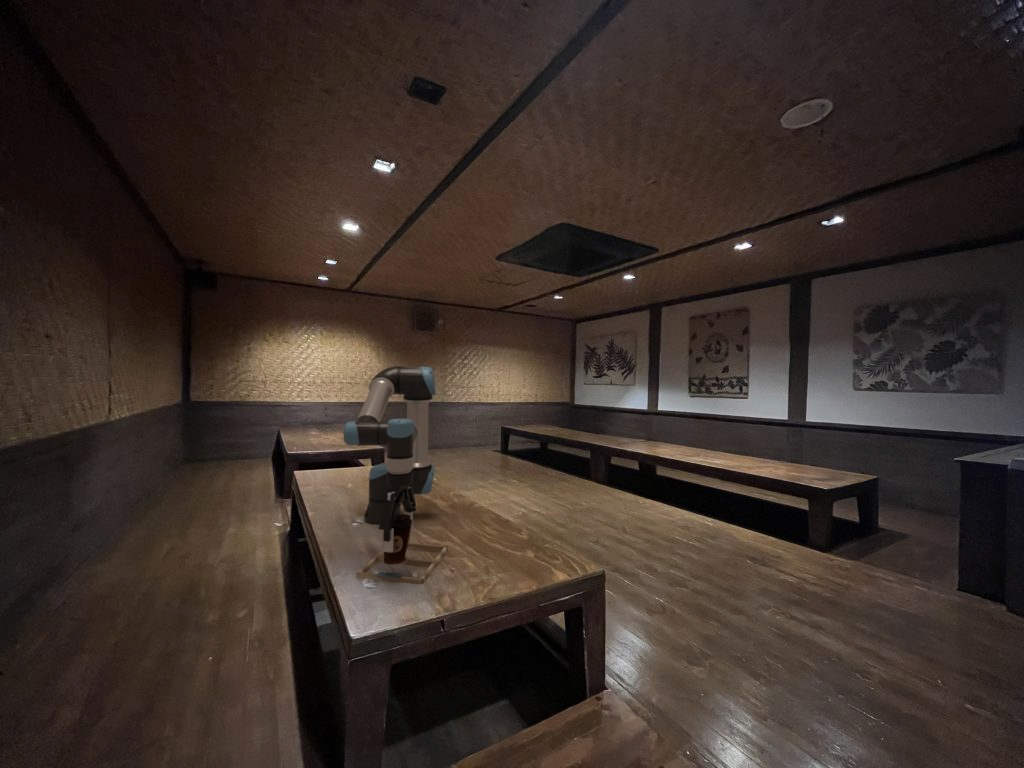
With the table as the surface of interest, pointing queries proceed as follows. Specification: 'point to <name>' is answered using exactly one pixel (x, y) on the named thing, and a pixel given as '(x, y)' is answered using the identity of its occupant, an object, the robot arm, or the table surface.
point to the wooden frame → (409, 561)
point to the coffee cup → (399, 540)
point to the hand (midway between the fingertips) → (398, 541)
